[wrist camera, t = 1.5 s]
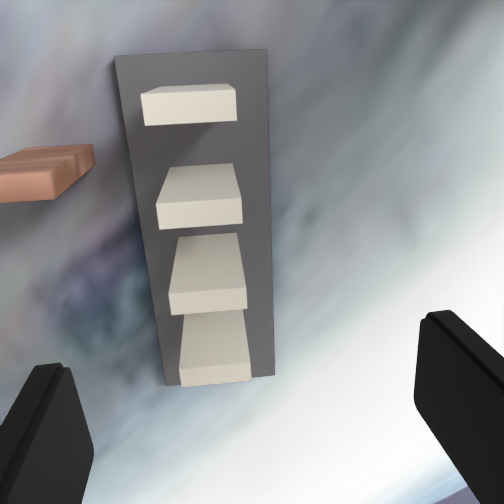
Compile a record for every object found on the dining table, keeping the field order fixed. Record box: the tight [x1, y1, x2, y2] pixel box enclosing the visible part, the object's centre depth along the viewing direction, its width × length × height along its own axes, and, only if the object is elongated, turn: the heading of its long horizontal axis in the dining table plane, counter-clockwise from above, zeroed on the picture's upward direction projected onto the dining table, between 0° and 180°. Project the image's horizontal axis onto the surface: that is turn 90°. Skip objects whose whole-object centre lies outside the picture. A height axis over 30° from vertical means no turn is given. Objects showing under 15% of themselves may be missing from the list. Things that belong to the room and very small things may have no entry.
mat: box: [114, 49, 275, 386], centre depth 37 cm, size 30×11×1 cm, turn 3°
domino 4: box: [169, 233, 247, 315], centre depth 32 cm, size 2×5×10 cm, turn 93°
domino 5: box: [179, 309, 251, 387], centre depth 35 cm, size 2×5×10 cm, turn 93°
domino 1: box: [0, 144, 95, 203], centre depth 29 cm, size 2×5×10 cm, turn 93°
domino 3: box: [156, 163, 243, 230], centre depth 30 cm, size 2×5×10 cm, turn 92°
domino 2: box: [141, 83, 237, 126], centre depth 27 cm, size 2×5×10 cm, turn 93°
